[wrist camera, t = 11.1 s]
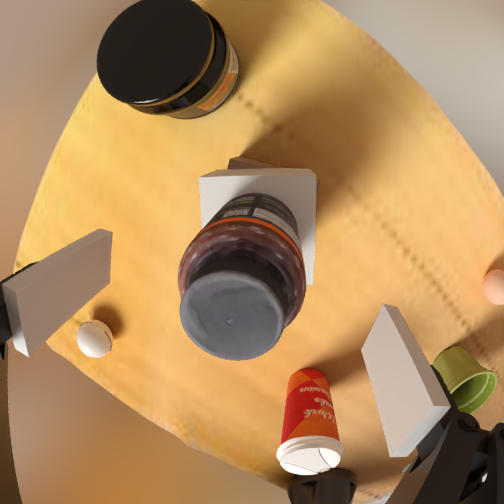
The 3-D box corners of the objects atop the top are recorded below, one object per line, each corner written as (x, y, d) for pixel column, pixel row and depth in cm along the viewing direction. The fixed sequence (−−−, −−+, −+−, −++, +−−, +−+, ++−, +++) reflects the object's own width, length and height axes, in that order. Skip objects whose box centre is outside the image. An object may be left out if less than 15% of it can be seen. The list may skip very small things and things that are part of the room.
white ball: (119, 348, 43) (103, 371, 37) (89, 335, 43) (71, 355, 37) (121, 309, 40) (102, 331, 35) (88, 296, 40) (67, 315, 35)
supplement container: (262, 62, 28) (249, 20, 16) (203, 138, 31) (159, 138, 20) (186, 19, 26) (143, -26, 15) (133, 92, 30) (69, 77, 19)
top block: (308, 256, 28) (313, 284, 23) (222, 255, 29) (207, 283, 23) (309, 168, 25) (316, 175, 20) (217, 169, 26) (198, 177, 21)
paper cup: (344, 383, 40) (356, 461, 27) (301, 406, 43) (302, 482, 30) (313, 353, 39) (320, 436, 26) (269, 379, 41) (261, 459, 28)
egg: (500, 283, 33) (521, 301, 27) (478, 298, 34) (498, 318, 28) (497, 257, 32) (520, 274, 26) (474, 273, 33) (495, 292, 27)
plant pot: (444, 330, 36) (469, 368, 28) (483, 341, 36) (508, 375, 28) (411, 379, 39) (427, 419, 31) (451, 385, 39) (469, 421, 31)
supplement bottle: (250, 286, 23) (221, 398, 13) (198, 225, 22) (124, 302, 11) (316, 240, 21) (340, 337, 11) (263, 172, 20) (238, 209, 10)
